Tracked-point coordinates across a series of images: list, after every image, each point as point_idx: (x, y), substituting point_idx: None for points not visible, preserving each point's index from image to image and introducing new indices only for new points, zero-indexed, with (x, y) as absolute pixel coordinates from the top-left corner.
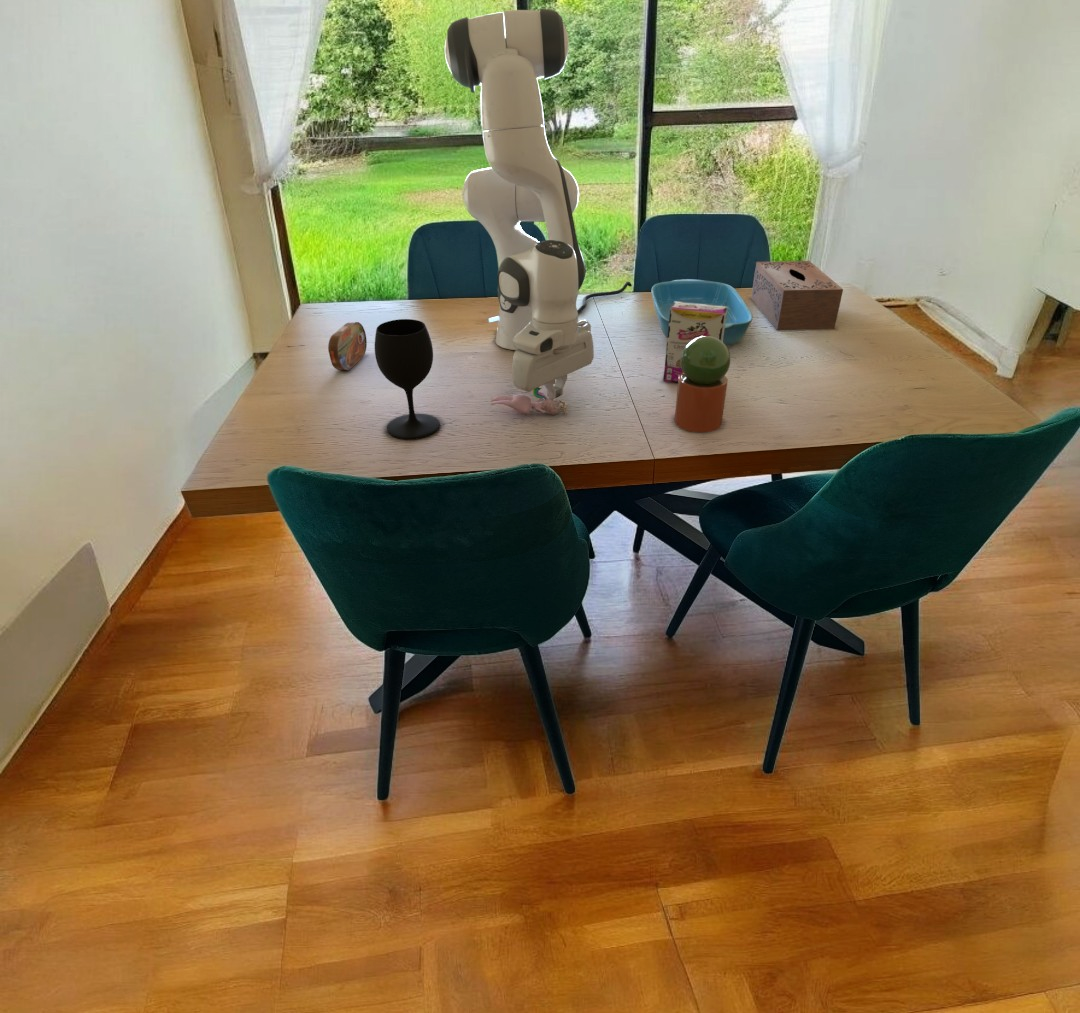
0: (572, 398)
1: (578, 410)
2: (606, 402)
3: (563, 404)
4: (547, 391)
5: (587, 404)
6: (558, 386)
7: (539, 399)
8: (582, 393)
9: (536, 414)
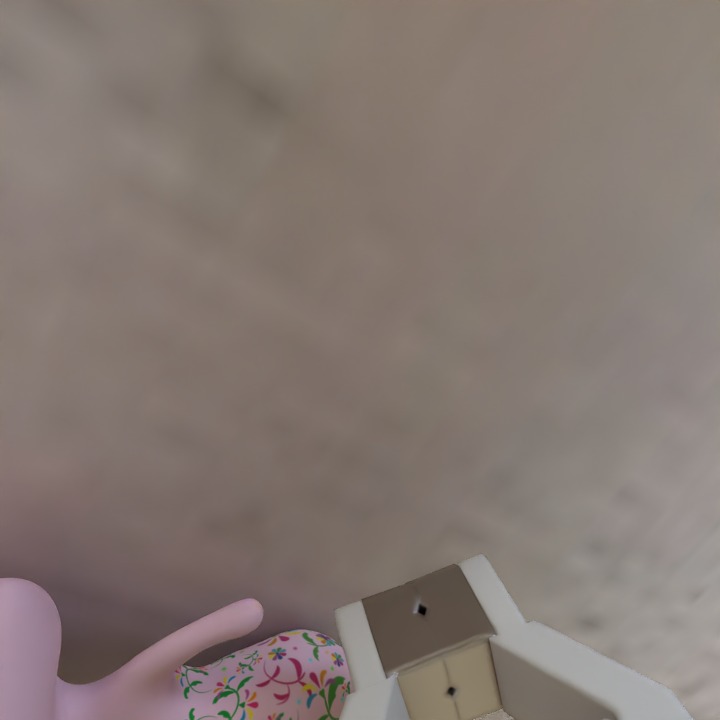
0: (585, 495)
1: None
2: (704, 633)
3: None
4: (349, 665)
5: (591, 622)
6: (510, 687)
7: (206, 646)
8: (715, 444)
9: (108, 658)
